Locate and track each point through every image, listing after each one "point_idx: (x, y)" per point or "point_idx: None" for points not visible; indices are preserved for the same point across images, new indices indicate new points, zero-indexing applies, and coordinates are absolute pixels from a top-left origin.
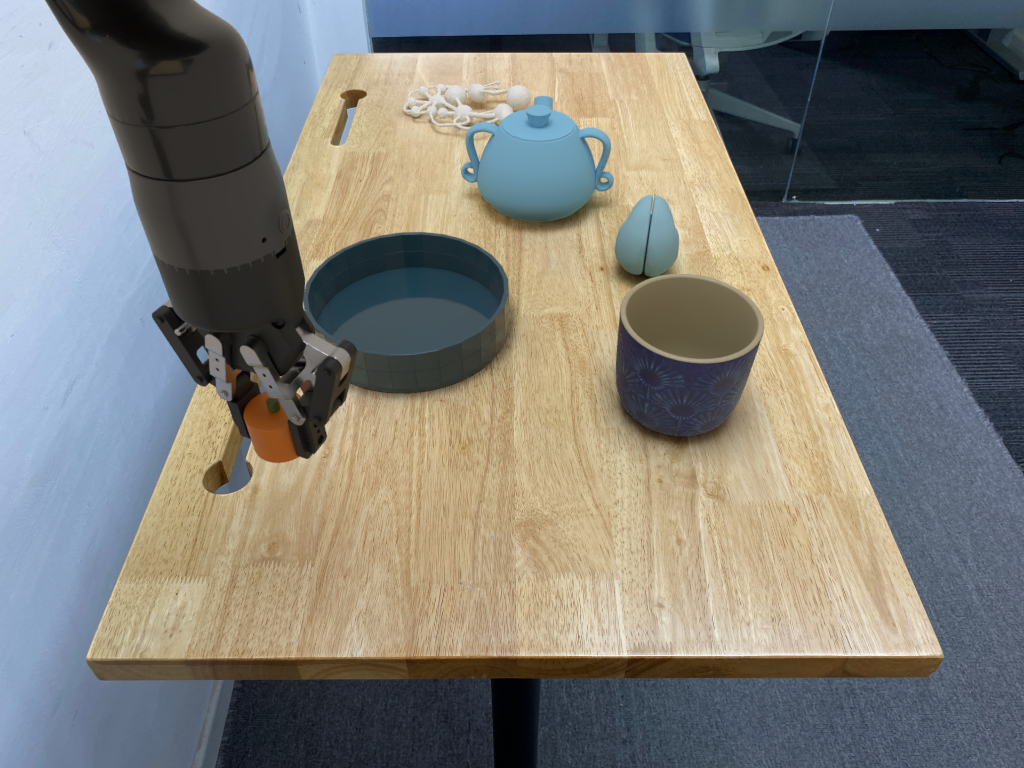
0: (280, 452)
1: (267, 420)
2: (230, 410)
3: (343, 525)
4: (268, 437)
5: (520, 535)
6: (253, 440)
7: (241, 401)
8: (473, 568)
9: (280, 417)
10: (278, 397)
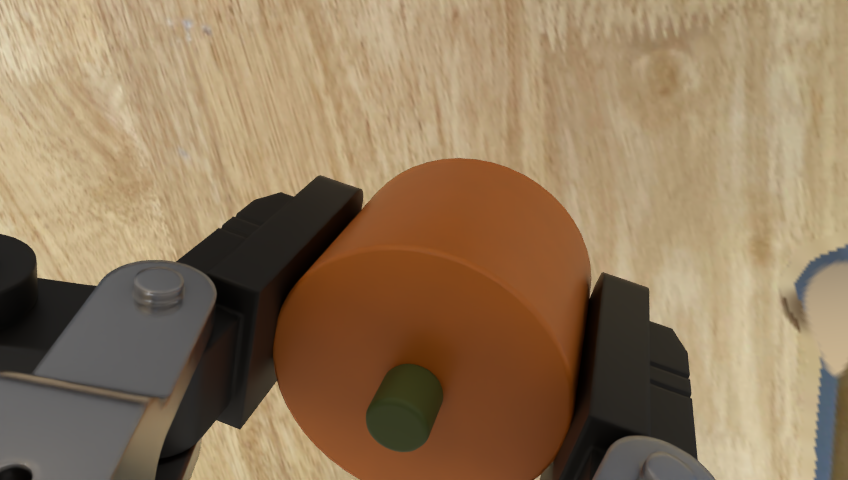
0: (404, 184)
1: (415, 315)
2: (686, 399)
3: (501, 158)
4: (408, 224)
5: (136, 160)
6: (528, 231)
7: (579, 434)
8: (194, 71)
9: (358, 334)
10: (36, 390)
